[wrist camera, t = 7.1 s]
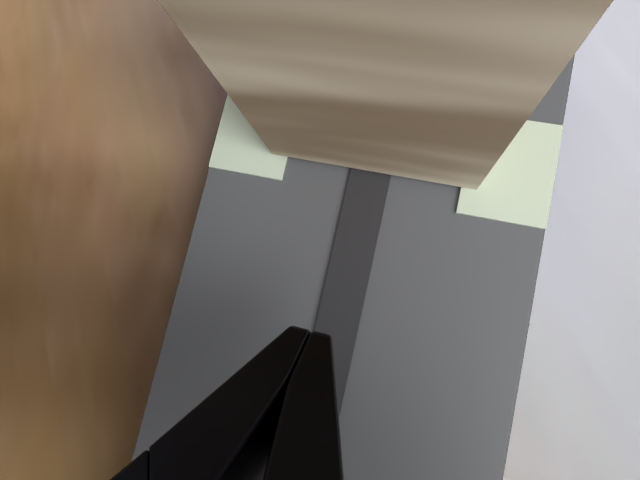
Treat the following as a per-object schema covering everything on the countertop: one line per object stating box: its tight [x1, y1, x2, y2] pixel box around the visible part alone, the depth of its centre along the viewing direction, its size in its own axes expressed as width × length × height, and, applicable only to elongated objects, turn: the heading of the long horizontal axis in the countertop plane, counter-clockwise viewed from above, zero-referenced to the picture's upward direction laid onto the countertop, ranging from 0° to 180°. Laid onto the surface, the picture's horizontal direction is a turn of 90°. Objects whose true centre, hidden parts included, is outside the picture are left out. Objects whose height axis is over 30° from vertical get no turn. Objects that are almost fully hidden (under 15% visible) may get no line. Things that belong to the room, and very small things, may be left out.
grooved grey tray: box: [131, 54, 575, 480], centre depth 12 cm, size 22×10×4 cm, turn 167°
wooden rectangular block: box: [158, 0, 613, 190], centre depth 8 cm, size 3×6×10 cm, turn 77°
